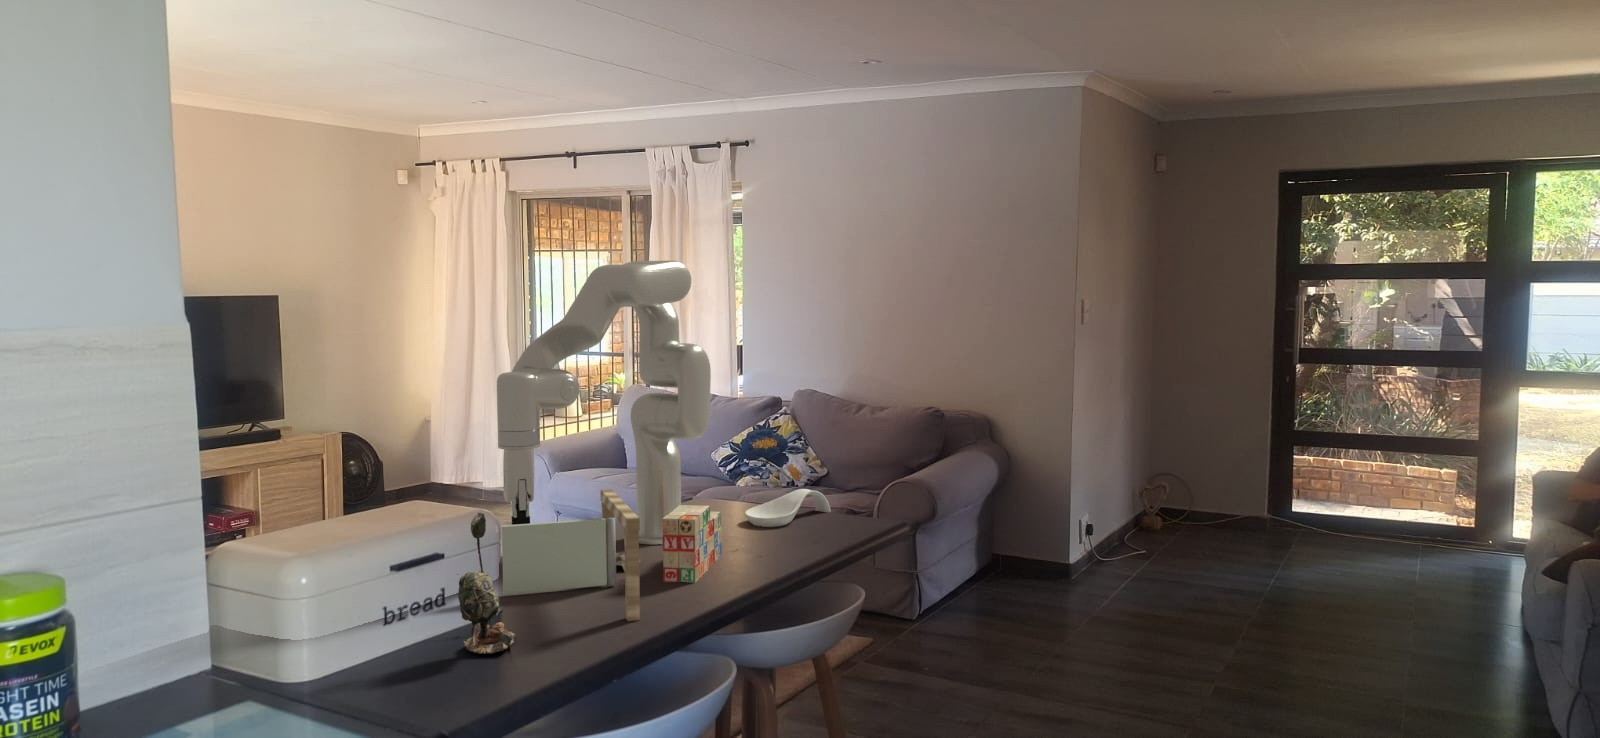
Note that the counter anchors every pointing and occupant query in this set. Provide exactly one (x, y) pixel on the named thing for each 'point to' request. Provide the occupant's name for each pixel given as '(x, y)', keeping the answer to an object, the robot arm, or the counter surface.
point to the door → (558, 555)
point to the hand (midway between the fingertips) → (521, 537)
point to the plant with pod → (482, 604)
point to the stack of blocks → (690, 542)
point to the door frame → (626, 548)
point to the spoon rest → (784, 508)
